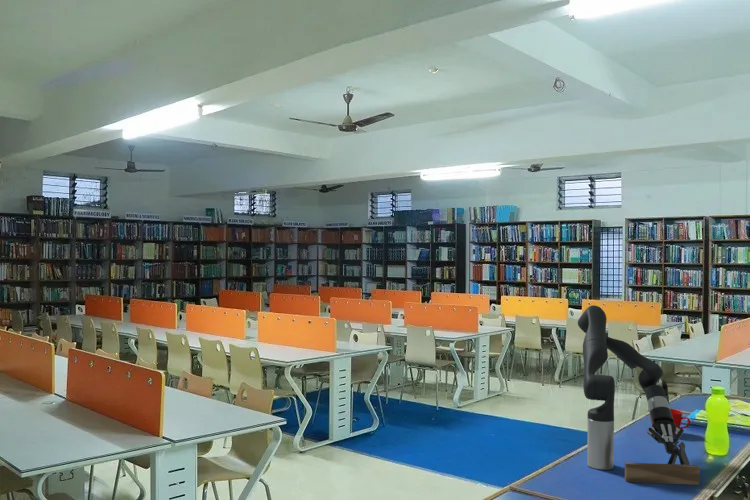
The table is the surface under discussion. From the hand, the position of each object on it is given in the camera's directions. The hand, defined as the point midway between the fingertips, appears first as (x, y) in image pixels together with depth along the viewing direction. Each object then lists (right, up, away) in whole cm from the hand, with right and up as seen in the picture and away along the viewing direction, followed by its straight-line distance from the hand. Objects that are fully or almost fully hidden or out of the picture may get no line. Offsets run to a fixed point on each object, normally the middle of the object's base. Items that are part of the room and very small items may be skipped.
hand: (671, 453), depth 232 cm
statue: (+33, -9, +75) cm, 82 cm away
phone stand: (-1, -7, -7) cm, 10 cm away
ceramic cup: (+23, -8, +50) cm, 56 cm away
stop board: (-9, -6, -12) cm, 16 cm away
